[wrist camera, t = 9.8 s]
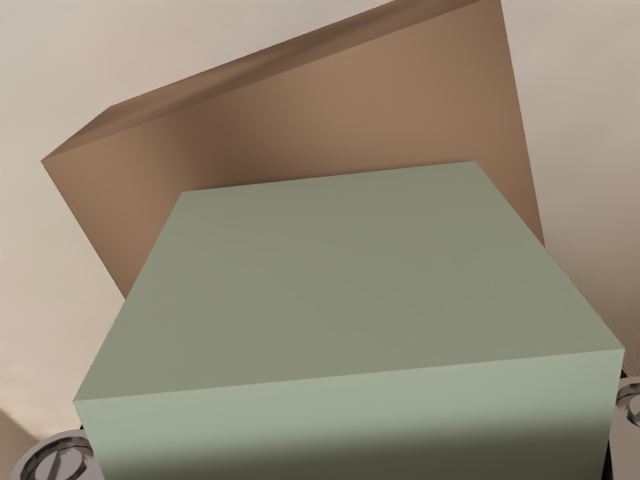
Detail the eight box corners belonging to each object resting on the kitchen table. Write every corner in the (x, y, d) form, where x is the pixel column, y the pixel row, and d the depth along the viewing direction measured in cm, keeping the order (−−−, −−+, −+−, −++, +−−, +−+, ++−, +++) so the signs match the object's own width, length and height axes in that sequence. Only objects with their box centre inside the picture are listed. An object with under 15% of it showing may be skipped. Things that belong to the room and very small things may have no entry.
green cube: (474, 160, 11) (624, 348, 6) (469, 386, 14) (568, 653, 9) (182, 191, 11) (72, 401, 6) (233, 408, 14) (188, 683, 9)
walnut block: (442, -19, 15) (499, -7, 11) (508, 278, 20) (568, 374, 15) (112, 104, 16) (40, 161, 12) (244, 356, 21) (227, 466, 16)
